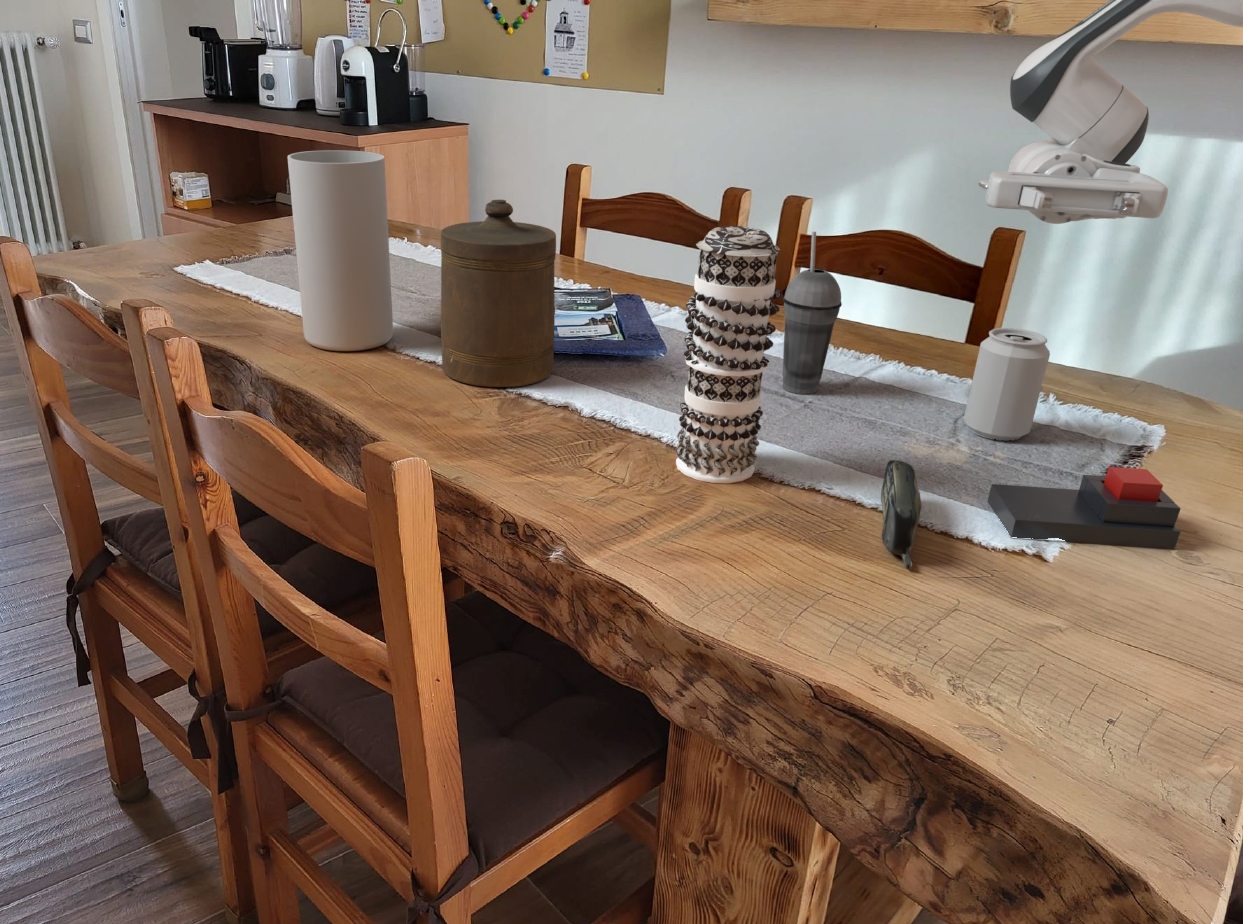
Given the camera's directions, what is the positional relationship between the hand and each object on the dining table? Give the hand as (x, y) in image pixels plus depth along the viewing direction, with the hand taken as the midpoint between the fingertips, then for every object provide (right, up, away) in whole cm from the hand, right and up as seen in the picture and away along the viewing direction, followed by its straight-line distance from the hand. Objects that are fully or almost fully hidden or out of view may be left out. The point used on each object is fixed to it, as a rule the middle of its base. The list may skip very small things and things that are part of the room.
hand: (1088, 205), depth 116 cm
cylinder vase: (-92, -12, +26) cm, 97 cm away
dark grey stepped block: (-11, -37, -19) cm, 43 cm away
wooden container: (-70, -17, +17) cm, 74 cm away
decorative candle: (-45, -31, -9) cm, 55 cm away
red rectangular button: (-7, -34, -21) cm, 40 cm away
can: (-10, -26, +3) cm, 28 cm away
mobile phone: (-30, -38, -21) cm, 53 cm away
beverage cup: (-31, -20, +14) cm, 39 cm away
